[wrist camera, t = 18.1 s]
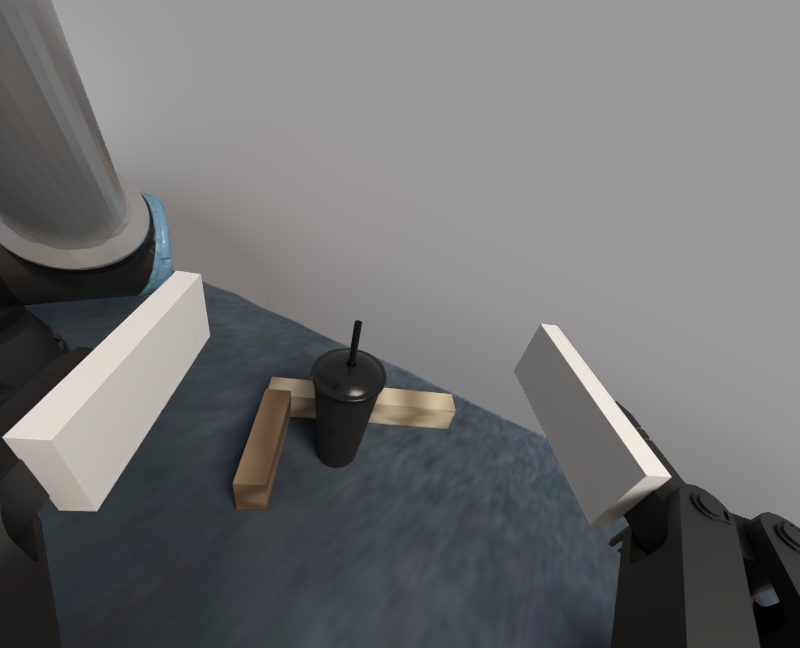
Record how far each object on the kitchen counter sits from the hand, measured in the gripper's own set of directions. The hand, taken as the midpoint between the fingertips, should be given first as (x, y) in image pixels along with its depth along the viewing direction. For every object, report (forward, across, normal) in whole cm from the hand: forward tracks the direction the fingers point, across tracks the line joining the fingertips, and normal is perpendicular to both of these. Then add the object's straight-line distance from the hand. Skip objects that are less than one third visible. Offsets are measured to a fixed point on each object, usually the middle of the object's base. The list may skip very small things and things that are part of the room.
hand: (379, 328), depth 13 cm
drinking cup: (+14, 0, -30) cm, 33 cm away
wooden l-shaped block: (+15, +3, -30) cm, 34 cm away
